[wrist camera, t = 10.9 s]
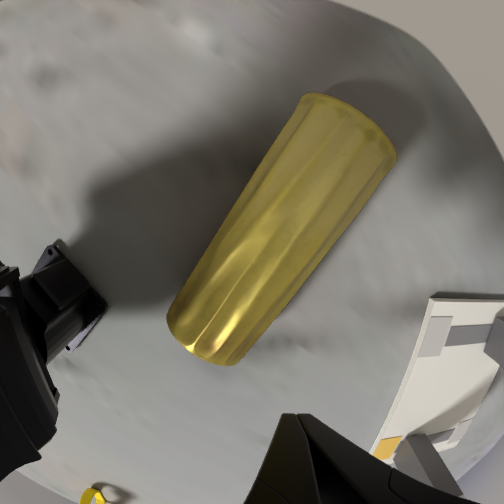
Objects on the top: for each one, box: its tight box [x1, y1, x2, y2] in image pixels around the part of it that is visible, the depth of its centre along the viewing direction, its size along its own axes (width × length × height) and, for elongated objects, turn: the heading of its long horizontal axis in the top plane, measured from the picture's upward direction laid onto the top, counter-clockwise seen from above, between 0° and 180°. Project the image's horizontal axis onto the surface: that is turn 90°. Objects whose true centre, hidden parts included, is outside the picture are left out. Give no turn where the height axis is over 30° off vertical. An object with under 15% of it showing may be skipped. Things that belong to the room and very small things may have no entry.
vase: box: [166, 93, 397, 366], centre depth 16 cm, size 6×6×14 cm
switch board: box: [369, 298, 504, 464], centre depth 21 cm, size 13×19×1 cm
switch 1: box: [393, 433, 466, 499], centre depth 17 cm, size 2×4×10 cm
